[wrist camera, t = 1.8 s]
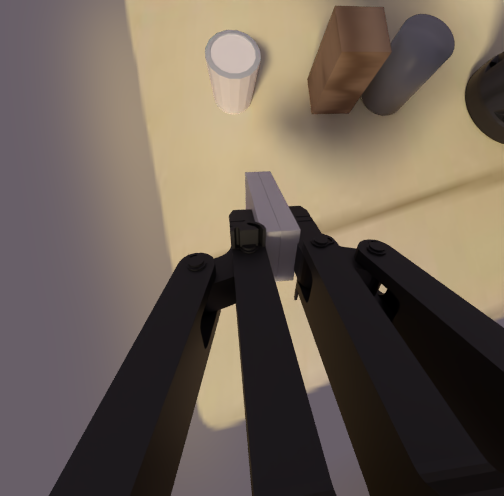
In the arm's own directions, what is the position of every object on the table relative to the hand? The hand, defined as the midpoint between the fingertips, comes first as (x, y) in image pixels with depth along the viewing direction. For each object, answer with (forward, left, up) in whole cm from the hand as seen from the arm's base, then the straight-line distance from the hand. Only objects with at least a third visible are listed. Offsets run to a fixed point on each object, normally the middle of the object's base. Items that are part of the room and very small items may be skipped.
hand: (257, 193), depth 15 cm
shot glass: (0, -22, -18) cm, 29 cm away
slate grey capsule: (-24, -22, -18) cm, 37 cm away
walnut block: (-15, -22, -18) cm, 32 cm away
